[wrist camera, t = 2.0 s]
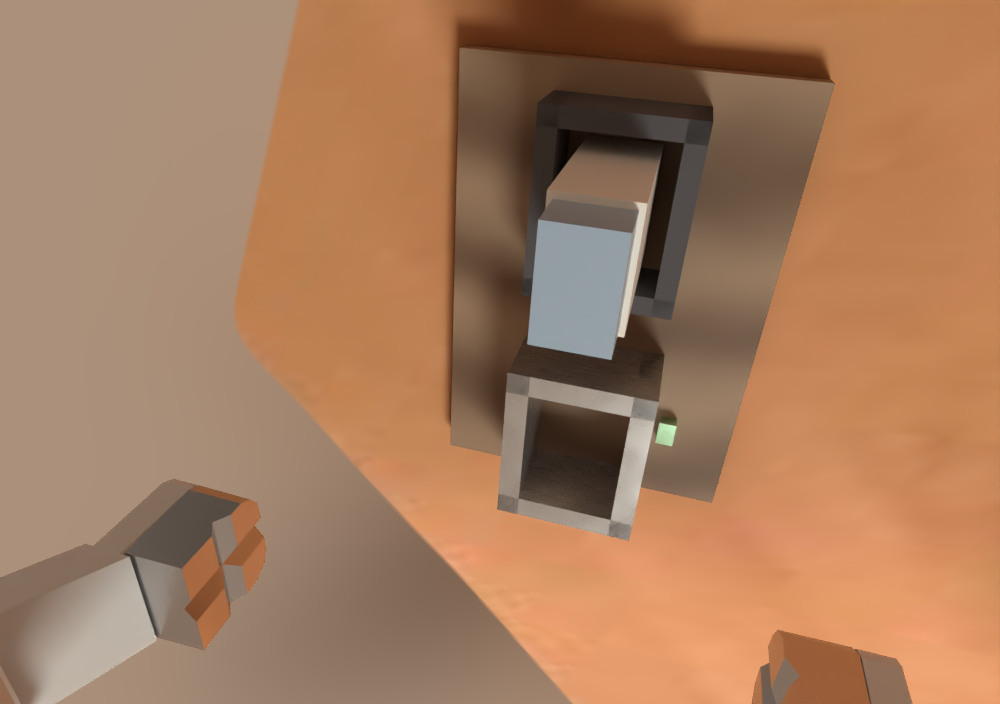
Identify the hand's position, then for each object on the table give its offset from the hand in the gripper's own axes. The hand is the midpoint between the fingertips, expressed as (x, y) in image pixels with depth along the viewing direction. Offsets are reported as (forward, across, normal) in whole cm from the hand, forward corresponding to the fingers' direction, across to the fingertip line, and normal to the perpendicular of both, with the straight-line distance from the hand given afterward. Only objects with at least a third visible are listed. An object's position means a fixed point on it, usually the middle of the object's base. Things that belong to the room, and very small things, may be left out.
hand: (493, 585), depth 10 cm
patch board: (+22, +1, +5) cm, 22 cm away
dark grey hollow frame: (+21, +1, 0) cm, 21 cm away
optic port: (+21, +1, +11) cm, 23 cm away
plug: (+21, +1, 0) cm, 21 cm away
